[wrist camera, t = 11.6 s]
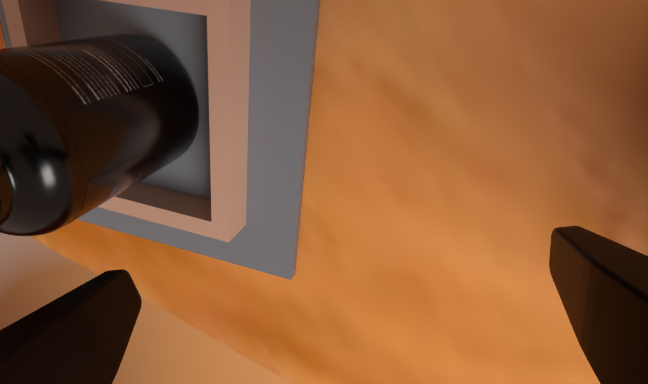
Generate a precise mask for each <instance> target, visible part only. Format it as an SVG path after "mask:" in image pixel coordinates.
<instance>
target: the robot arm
mask: <svg viewBox="0 0 648 384" xmlns="http://www.w3.org/2000/svg"><path fill="white" fill-rule="evenodd" d="M549 267H550V272H551V276H552V278H553V281H554V283H555V286H556V288H557V291H558V293H559V295H560V298H561V300H562V303H563V305H564V308H565V310H566V313H567V315H568V318H569V320H570V323H571V325H572V328H573V330H574V332H575V335H576V337H577V339H578V342H579V344H580V346H581V348H582V350H583V352H584V354H585V356H586V358H587V360H588V362H589V363H590V365H591V367H592V369H593V371H594V373H595V374H596V376H597V378H598V380H599V382H600V383H601V384H648V256H646V255H644V254H642V253H639V252H637V251H635V250H632V249H630V248H628V247H626V246H623V245H621V244H619V243H616V242H614V241H612V240H609V239H607V238H605V237H602V236H600V235H598V234H595V233H593V232H591V231H589V230H586V229H584V228H582V227H579V226H568V227H558V228H555V229H554V230H553V232H552V234H551V246H550V260H549ZM140 309H141V297H140V294H139V292H138V290H137V288H136V286H135V284H134V282H133V280H132V278H131V276H130V274H129V273H128V272H127V271H126V270H111V271H106V272H104V273H102V274H101V275H99V276H97V277H95V278H93V279H92V280H90V281H88V282H86V283H84V284H83V285H81V286H79V287H77V288H75V289H74V290H72V291H70V292H68V293H66V294H65V295H63V296H61V297H59V298H57V299H56V300H54V301H52V302H50V303H49V304H47V305H45V306H43V307H41V308H40V309H38V310H36V311H34V312H32V313H31V314H29V315H27V316H25V317H23V318H22V319H20V320H18V321H16V322H14V323H13V324H11V325H9V326H7V327H6V328H4V329H2V330H0V384H112V383H113V380H114V378H115V376H116V374H117V371H118V369H119V366H120V364H121V361H122V359H123V356H124V353H125V350H126V348H127V345H128V342H129V339H130V336H131V334H132V331H133V328H134V325H135V323H136V320H137V317H138V314H139V312H140Z"/></svg>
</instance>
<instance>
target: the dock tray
mask: <svg viewBox="0 0 648 384" xmlns="http://www.w3.org/2000/svg"><path fill="white" fill-rule="evenodd" d="M319 3H320V0H0V22H1V26H2V31H3V35H4V39H5V43H6V48H12V47H20V46H28V45H36V44H44V43H51V42H59V41H67V40H75V39H82V38H90V37H98V36H107V35H117V34H132V35H138V36H141V37H145V38H147V39H150V40H152V41H154V42H156V43H157V44H159V45H160V46H162V47H163V48H165V49H166V50H167V51H168V52H170V53H171V54H172V55H173V56H174V57H175V58H176V59H177V60H178V62H179V63H180V64H181V65H182V67H183V68H184V70H185V71H186V73H187V74H188V76H189V78H190V80H191V82H192V84H193V87H194V89H195V92H196V95H197V99H198V104H199V126H198V131H197V134H196V137H195V139H194V141H193V143H192V145H191V146H190V148H189V149H188V150H187V151H186V152H185V153H184V154H183V155H182V156H181V157H179V158H178V159H176V160H175V161H173V162H171V163H170V164H168V165H167V166H165V167H163V168H162V169H160V170H158V171H157V172H155V173H153V174H152V175H150V176H148V177H147V178H145V179H143V180H142V181H140V182H138V183H136V184H135V185H133V186H131V187H130V188H128V189H126V190H125V191H123V192H121V193H120V194H118V195H116V196H115V197H113V198H111V199H110V200H108V201H106V202H104V203H103V204H101V205H99V206H98V207H96V208H94V209H93V210H91V211H89V212H88V213H86V214H84V215H83V216H81V217H79V218H78V220H82V221H85V222H89V223H93V224H96V225H100V226H103V227H107V228H110V229H114V230H117V231H121V232H124V233H128V234H131V235H135V236H138V237H142V238H145V239H149V240H153V241H156V242H160V243H163V244H167V245H170V246H174V247H177V248H181V249H184V250H188V251H191V252H195V253H198V254H202V255H205V256H209V257H213V258H216V259H220V260H223V261H227V262H230V263H234V264H237V265H241V266H244V267H248V268H251V269H255V270H258V271H262V272H265V273H269V274H273V275H276V276H280V277H283V278H287V279H290V280H292V278H293V276H294V275H295V268H296V257H297V246H298V235H299V224H300V213H301V202H302V191H303V180H304V169H305V158H306V147H307V136H308V125H309V114H310V103H311V92H312V81H313V70H314V59H315V48H316V37H317V26H318V14H319Z"/></svg>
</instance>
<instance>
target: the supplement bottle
mask: <svg viewBox="0 0 648 384" xmlns="http://www.w3.org/2000/svg"><path fill="white" fill-rule="evenodd" d="M198 126H199V104H198V99H197V95H196V92H195V89H194V87H193V84H192V82H191V80H190V78H189V76H188V74H187V73H186V71H185V70H184V68H183V67H182V65H181V64H180V63H179V62H178V60H177V59H176V58H175V57H174V56H173V55H172V54H171V53H170V52H168V51H167V50H166V49H165V48H163V47H162V46H160V45H159V44H157V43H156V42H154V41H152V40H150V39H147V38H145V37H141V36H138V35H132V34H117V35H107V36H98V37H90V38H82V39H75V40H67V41H59V42H51V43H44V44H36V45H28V46H20V47H12V48H5V49H0V233H4V234H8V235H15V236H36V235H43V234H47V233H50V232H53V231H55V230H58V229H60V228H62V227H63V226H65V225H67V224H69V223H71V222H72V221H74V220H76V219H78V218H79V217H81V216H83V215H84V214H86V213H88V212H89V211H91V210H93V209H94V208H96V207H98V206H99V205H101V204H103V203H104V202H106V201H108V200H110V199H111V198H113V197H115V196H116V195H118V194H120V193H121V192H123V191H125V190H126V189H128V188H130V187H131V186H133V185H135V184H136V183H138V182H140V181H142V180H143V179H145V178H147V177H148V176H150V175H152V174H153V173H155V172H157V171H158V170H160V169H162V168H163V167H165V166H167V165H168V164H170V163H171V162H173V161H175V160H176V159H178V158H179V157H181V156H182V155H183V154H184V153H185V152H186V151H187V150H188V149H189V148H190V146H191V145H192V143H193V141H194V139H195V137H196V134H197V131H198Z"/></svg>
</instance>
